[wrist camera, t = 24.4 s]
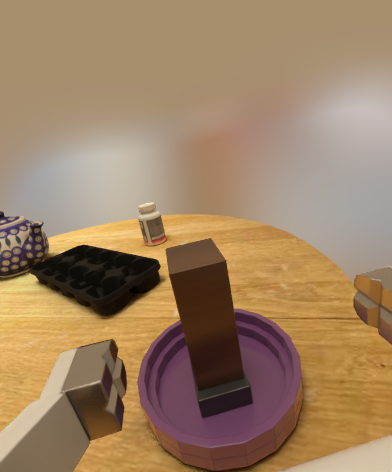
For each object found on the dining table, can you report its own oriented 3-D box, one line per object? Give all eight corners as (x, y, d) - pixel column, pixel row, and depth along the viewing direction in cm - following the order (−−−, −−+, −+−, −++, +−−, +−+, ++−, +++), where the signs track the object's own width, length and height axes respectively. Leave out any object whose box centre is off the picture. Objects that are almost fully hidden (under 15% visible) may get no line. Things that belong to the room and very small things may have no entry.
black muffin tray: (120, 324, 35) (112, 301, 34) (6, 298, 49) (-3, 281, 48) (182, 263, 49) (178, 246, 48) (79, 257, 64) (74, 243, 62)
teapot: (-39, 282, 63) (-72, 225, 58) (18, 254, 75) (-4, 206, 70) (28, 286, 53) (-4, 218, 48) (81, 254, 66) (60, 198, 61)
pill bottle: (169, 237, 65) (160, 200, 62) (162, 245, 61) (152, 206, 57) (150, 238, 67) (140, 202, 64) (141, 247, 62) (131, 208, 59)
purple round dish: (318, 352, 25) (317, 328, 24) (267, 529, 15) (263, 500, 14) (200, 317, 33) (196, 298, 32) (114, 414, 23) (104, 390, 22)
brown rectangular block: (253, 403, 21) (232, 264, 17) (202, 419, 21) (166, 280, 16) (230, 346, 27) (211, 234, 23) (190, 358, 27) (162, 245, 22)
